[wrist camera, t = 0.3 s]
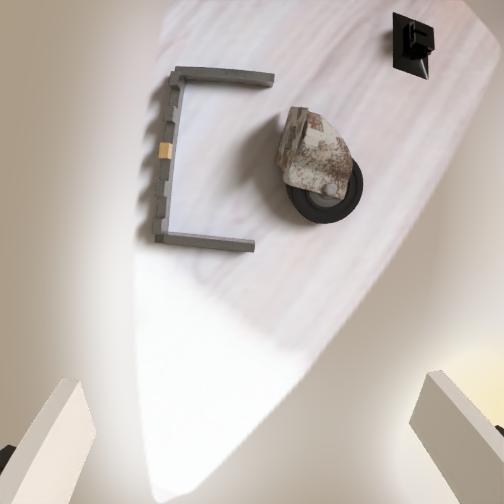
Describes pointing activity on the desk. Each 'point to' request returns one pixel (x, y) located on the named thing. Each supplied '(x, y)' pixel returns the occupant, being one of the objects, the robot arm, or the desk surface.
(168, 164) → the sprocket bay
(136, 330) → the desk surface
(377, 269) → the desk surface
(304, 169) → the caster wheel
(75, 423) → the robot arm
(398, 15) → the black mounting bracket
